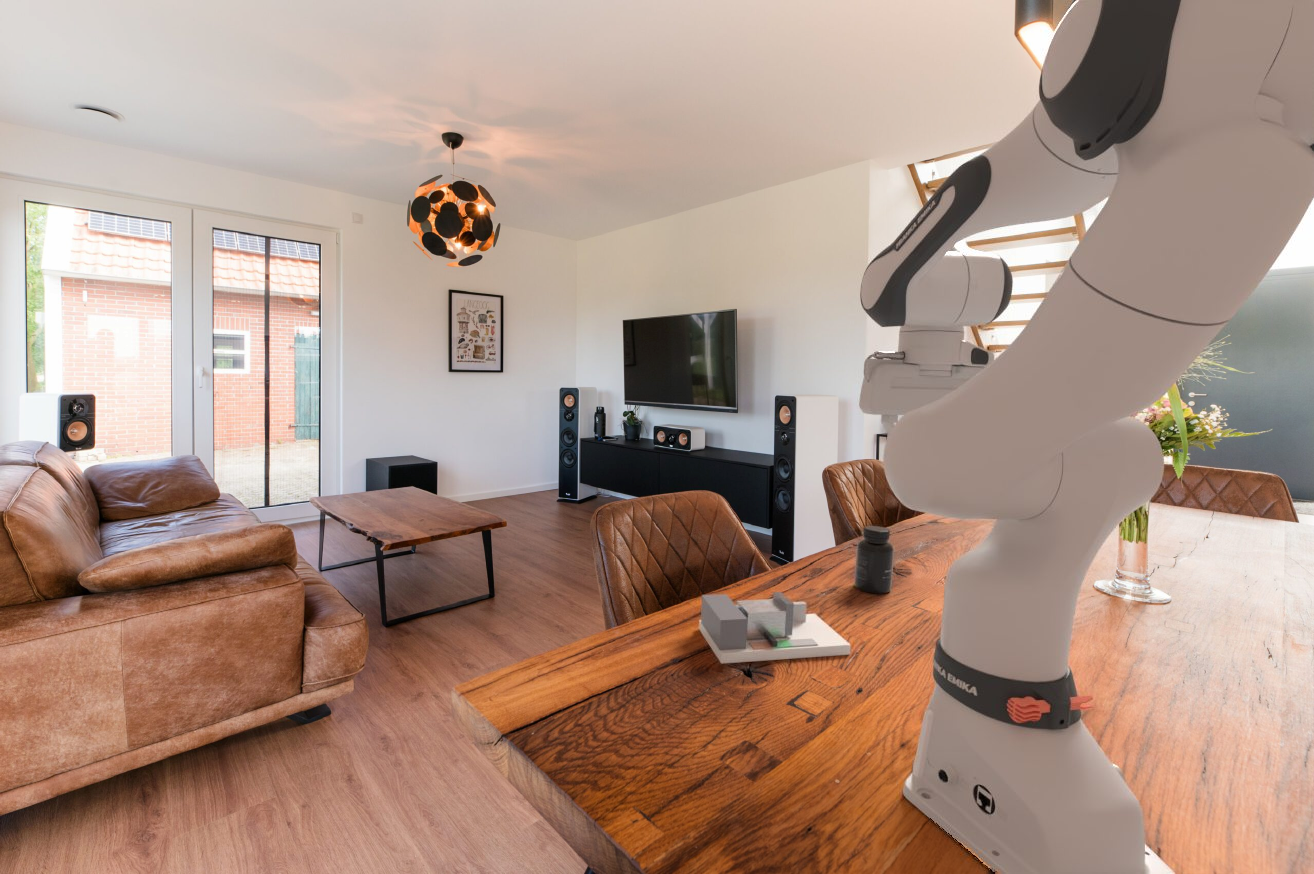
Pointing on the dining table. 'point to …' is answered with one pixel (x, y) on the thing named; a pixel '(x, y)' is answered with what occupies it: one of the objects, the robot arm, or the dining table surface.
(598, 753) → the dining table surface
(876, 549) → the supplement bottle
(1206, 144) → the robot arm
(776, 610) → the grey sliding block
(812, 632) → the gauge base
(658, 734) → the dining table surface
